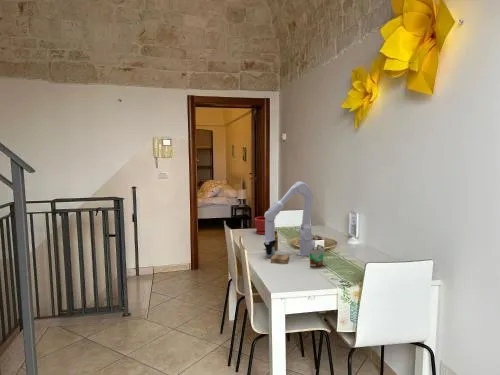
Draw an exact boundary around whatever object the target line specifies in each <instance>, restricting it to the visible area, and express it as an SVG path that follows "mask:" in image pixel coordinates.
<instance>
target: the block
mask: <svg viewBox="0 0 500 375" xmlns="http://www.w3.org/2000/svg"><path fill="white" fill-rule="evenodd" d="M275 252H276V251H275V247H272V252H271V255H267V251H265V257H266V258H267V257H269V258H271V257H272V256H273V255H274V254H276V253H275Z"/></svg>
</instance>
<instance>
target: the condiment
mask: <svg viewBox="0 0 500 375" xmlns="http://www.w3.org/2000/svg"><path fill="white" fill-rule="evenodd" d="M278 237H279V236H278V231H277V230H275V240H276V242H275V245H274V247H275V252H277V251H281V249H279V242H278V241H279V240H278ZM263 251H265V252H266V248H263Z"/></svg>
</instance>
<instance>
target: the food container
mask: <svg viewBox="0 0 500 375" xmlns="http://www.w3.org/2000/svg"><path fill="white" fill-rule="evenodd" d="M325 249H326V248H325V246H324V245H321V244H316V246H315V248H313V249H312V250H311V249H309V253H310V256H309V267H310V268H321V267H323V263H324V254H325V252H326V250H325Z"/></svg>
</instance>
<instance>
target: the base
mask: <svg viewBox="0 0 500 375" xmlns="http://www.w3.org/2000/svg"><path fill="white" fill-rule="evenodd" d="M289 261H290V255H289V254H281V253H280V254H278V253H275V254H274V255H273V256H272V257H270V264H280V265H287V264H288V262H289Z"/></svg>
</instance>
